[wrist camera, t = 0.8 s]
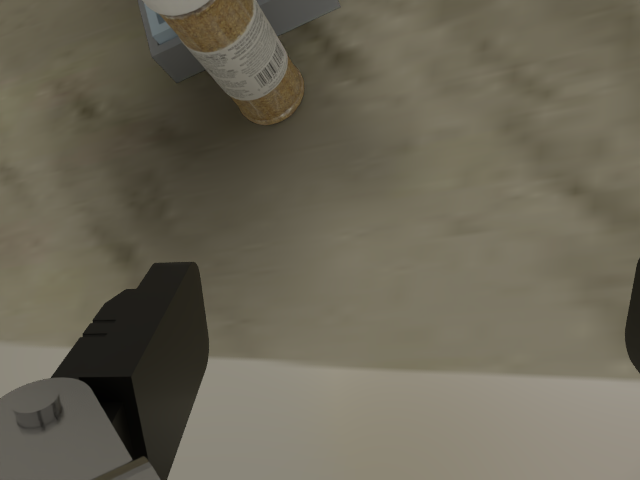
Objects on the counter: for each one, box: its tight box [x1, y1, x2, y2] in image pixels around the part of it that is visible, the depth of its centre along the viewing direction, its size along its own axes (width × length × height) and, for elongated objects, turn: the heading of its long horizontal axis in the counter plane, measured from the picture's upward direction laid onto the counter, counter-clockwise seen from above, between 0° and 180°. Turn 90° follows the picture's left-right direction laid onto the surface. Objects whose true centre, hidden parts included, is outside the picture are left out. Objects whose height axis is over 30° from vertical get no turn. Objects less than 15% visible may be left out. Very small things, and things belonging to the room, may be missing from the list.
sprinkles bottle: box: [142, 0, 304, 125], centre depth 32 cm, size 5×5×14 cm
